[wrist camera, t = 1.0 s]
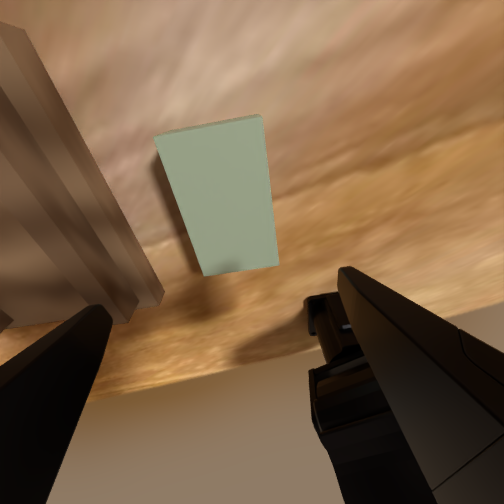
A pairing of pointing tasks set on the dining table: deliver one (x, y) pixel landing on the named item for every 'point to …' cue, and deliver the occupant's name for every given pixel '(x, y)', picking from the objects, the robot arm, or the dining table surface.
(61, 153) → the brown wooden stand
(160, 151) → the pale green block
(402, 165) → the dining table surface
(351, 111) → the dining table surface
